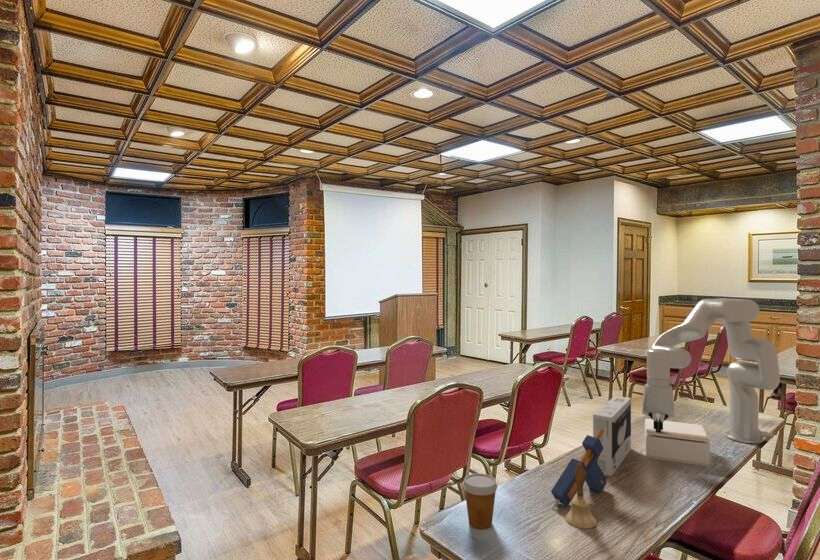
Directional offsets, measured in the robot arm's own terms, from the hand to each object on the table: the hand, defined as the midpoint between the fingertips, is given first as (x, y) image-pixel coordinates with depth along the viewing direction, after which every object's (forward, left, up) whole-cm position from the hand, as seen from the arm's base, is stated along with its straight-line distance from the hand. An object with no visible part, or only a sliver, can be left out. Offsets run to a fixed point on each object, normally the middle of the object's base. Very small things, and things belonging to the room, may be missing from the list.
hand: (658, 431), depth 170 cm
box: (-6, -7, -10) cm, 13 cm away
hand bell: (+22, +58, -10) cm, 63 cm away
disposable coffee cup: (+47, +71, -10) cm, 86 cm away
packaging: (+15, +9, -10) cm, 20 cm away
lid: (-6, -7, -1) cm, 9 cm away
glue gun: (+24, +44, -10) cm, 51 cm away
